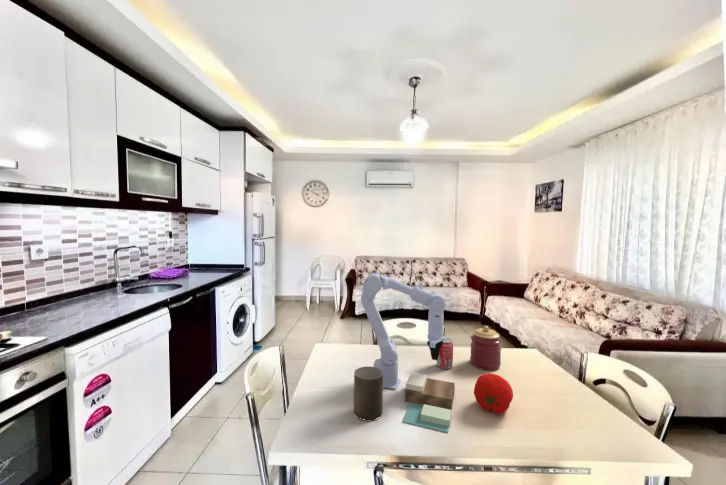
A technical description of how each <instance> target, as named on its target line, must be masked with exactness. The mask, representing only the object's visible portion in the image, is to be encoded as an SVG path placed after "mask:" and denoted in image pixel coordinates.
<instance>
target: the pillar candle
mask: <svg viewBox="0 0 726 485" xmlns="http://www.w3.org/2000/svg"><path fill="white" fill-rule="evenodd" d="M353 374H354V375H353V376H354V377H353V378H354V379H353V383H354V384H353V415H354V414H355V415H356V416H357V417H358V418H357V417H356V416H355V415H354V416H355V417H356V418H357V419H359V418H361V419H365V420H373V421H375V420H374V419H376V418H378V417H380V416H381V415H383V403H384V400H383V398H384V392H383V390H384V387H383V372H382V370H380V369H378V368H376V367H373V366H361V367H358V368H356V369H355V370H354V373H353ZM381 417H382V416H381ZM381 417H380V418H381Z"/></svg>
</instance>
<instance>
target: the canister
mask: <svg viewBox="0 0 726 485" xmlns="http://www.w3.org/2000/svg"><path fill="white" fill-rule="evenodd" d="M500 337H501V336H500V333H498V332H497V331H496V330H493V329H491V328H489V326H488V325H484V326H483V327H482V328H481V327H480V328H477V329H475V330H473V331H472V335H470V339H471V342H470V355H469V361H470V364H471V365H472V366H474V367H475V368H478V369H481V370H483V371H497V370H499V369H501V363H502V362H501V359H502V358H501V353H502V346H501V344H502V343H503V342H502V339H501V338H500Z"/></svg>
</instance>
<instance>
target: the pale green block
mask: <svg viewBox="0 0 726 485" xmlns="http://www.w3.org/2000/svg"><path fill="white" fill-rule="evenodd" d="M422 406H423V409H422V412H421V420H422V421H426V422H431V423H435V424H440V425H444V426H448V427H449V428H450V427H451V420H452V410H453V409H452V410H449V409H445V408H440V407H435V406H430V405H426V404H424V405H422Z"/></svg>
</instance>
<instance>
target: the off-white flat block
mask: <svg viewBox="0 0 726 485" xmlns="http://www.w3.org/2000/svg"><path fill="white" fill-rule="evenodd" d="M427 378H428V375H427V374H421V373H416V372H410V375H409V377H408V379H407V381H406V383H405V390H406V389H408V390H414V391H419V392H423V390H424V387H425V384H426V381H427Z"/></svg>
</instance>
